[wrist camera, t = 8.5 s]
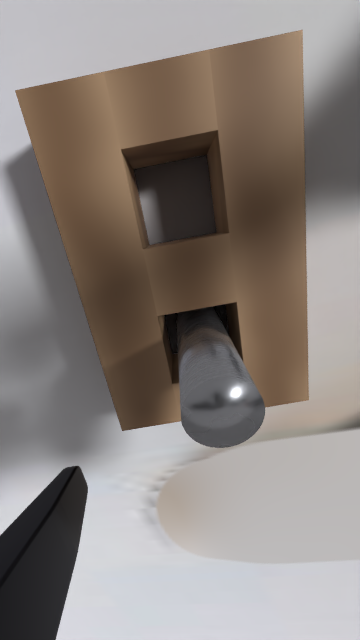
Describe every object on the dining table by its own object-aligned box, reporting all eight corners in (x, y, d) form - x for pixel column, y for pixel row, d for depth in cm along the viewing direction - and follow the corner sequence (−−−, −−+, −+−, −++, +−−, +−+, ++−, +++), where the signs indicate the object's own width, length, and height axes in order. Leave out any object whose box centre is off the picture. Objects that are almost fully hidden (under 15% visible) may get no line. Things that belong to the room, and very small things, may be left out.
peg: (215, 297, 18) (261, 371, 9) (220, 336, 19) (267, 440, 10) (173, 305, 18) (173, 385, 9) (180, 343, 19) (188, 453, 10)
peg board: (267, 83, 14) (302, 29, 10) (283, 368, 20) (308, 400, 16) (55, 126, 15) (15, 90, 11) (131, 393, 20) (122, 430, 17)
